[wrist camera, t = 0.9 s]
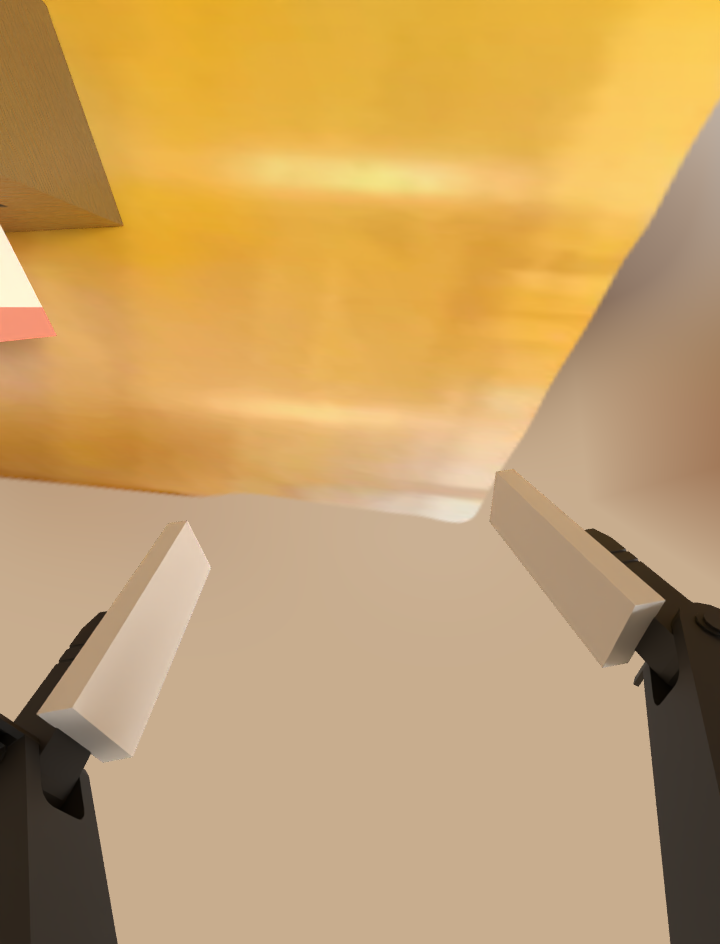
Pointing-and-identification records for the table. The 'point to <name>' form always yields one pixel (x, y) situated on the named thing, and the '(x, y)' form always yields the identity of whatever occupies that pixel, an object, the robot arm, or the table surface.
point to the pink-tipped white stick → (18, 300)
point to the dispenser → (45, 132)
